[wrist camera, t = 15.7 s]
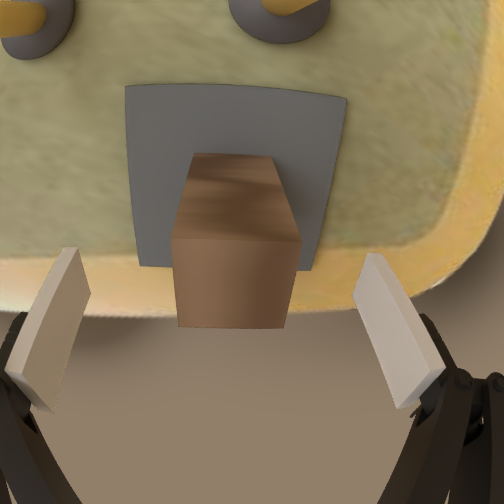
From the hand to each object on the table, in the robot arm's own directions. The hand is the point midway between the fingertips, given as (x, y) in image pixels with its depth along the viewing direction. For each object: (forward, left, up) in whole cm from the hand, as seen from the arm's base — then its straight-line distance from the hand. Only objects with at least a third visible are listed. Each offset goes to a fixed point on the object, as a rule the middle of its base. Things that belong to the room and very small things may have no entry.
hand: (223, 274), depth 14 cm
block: (0, 0, -9) cm, 9 cm away
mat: (0, 0, -10) cm, 10 cm away
